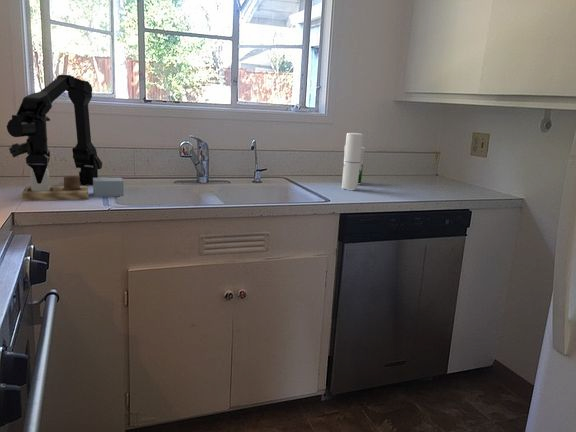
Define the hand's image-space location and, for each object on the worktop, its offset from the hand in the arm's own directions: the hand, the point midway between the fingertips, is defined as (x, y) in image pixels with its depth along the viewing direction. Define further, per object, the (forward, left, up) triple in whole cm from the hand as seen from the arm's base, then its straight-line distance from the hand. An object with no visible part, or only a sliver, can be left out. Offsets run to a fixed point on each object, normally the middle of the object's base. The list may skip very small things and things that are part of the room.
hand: (40, 181), depth 168 cm
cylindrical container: (-125, -6, -6) cm, 125 cm away
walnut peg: (-10, 0, -5) cm, 11 cm away
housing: (-22, -2, -5) cm, 23 cm away
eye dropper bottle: (0, 0, -4) cm, 4 cm away
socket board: (-5, 0, -5) cm, 7 cm away
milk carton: (-134, -20, -6) cm, 135 cm away
